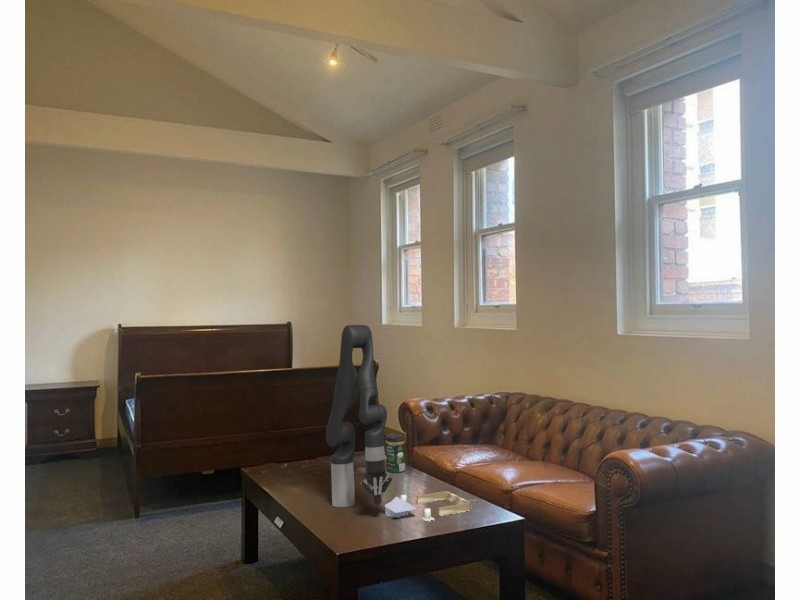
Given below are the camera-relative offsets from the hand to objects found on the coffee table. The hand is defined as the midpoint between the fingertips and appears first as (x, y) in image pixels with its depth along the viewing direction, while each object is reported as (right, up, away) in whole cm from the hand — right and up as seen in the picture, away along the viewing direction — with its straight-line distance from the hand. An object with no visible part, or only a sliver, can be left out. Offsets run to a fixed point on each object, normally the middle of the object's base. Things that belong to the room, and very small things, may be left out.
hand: (377, 504), depth 232 cm
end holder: (+25, -5, +12) cm, 29 cm away
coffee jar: (+7, -8, +72) cm, 73 cm away
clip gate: (+15, -5, +7) cm, 17 cm away
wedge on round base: (+8, -6, +4) cm, 11 cm away
